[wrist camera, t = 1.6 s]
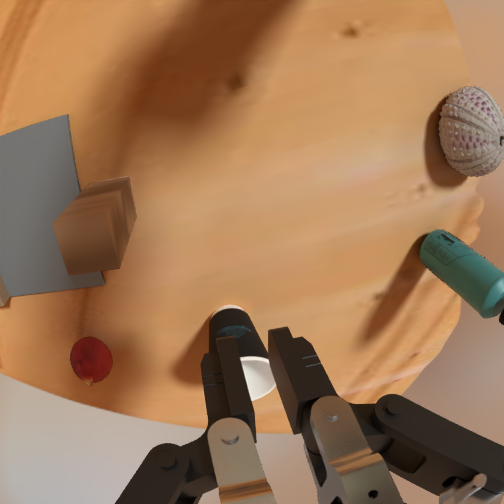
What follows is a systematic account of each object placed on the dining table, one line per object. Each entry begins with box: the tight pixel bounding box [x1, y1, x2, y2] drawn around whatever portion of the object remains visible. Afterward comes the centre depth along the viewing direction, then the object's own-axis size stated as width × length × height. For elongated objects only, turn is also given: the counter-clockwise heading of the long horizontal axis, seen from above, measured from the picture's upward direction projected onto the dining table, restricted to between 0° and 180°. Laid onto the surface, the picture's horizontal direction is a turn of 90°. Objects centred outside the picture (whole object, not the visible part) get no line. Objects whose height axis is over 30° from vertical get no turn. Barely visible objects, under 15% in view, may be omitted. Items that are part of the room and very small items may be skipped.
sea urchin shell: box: [438, 86, 504, 177], centre depth 31 cm, size 13×14×8 cm
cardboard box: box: [52, 176, 137, 276], centre depth 25 cm, size 4×4×11 cm
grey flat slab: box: [0, 114, 105, 306], centre depth 27 cm, size 20×17×2 cm
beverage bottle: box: [420, 230, 504, 325], centre depth 34 cm, size 6×7×20 cm
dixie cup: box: [209, 305, 276, 401], centre depth 36 cm, size 8×8×11 cm
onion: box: [70, 337, 113, 386], centre depth 35 cm, size 6×6×8 cm
